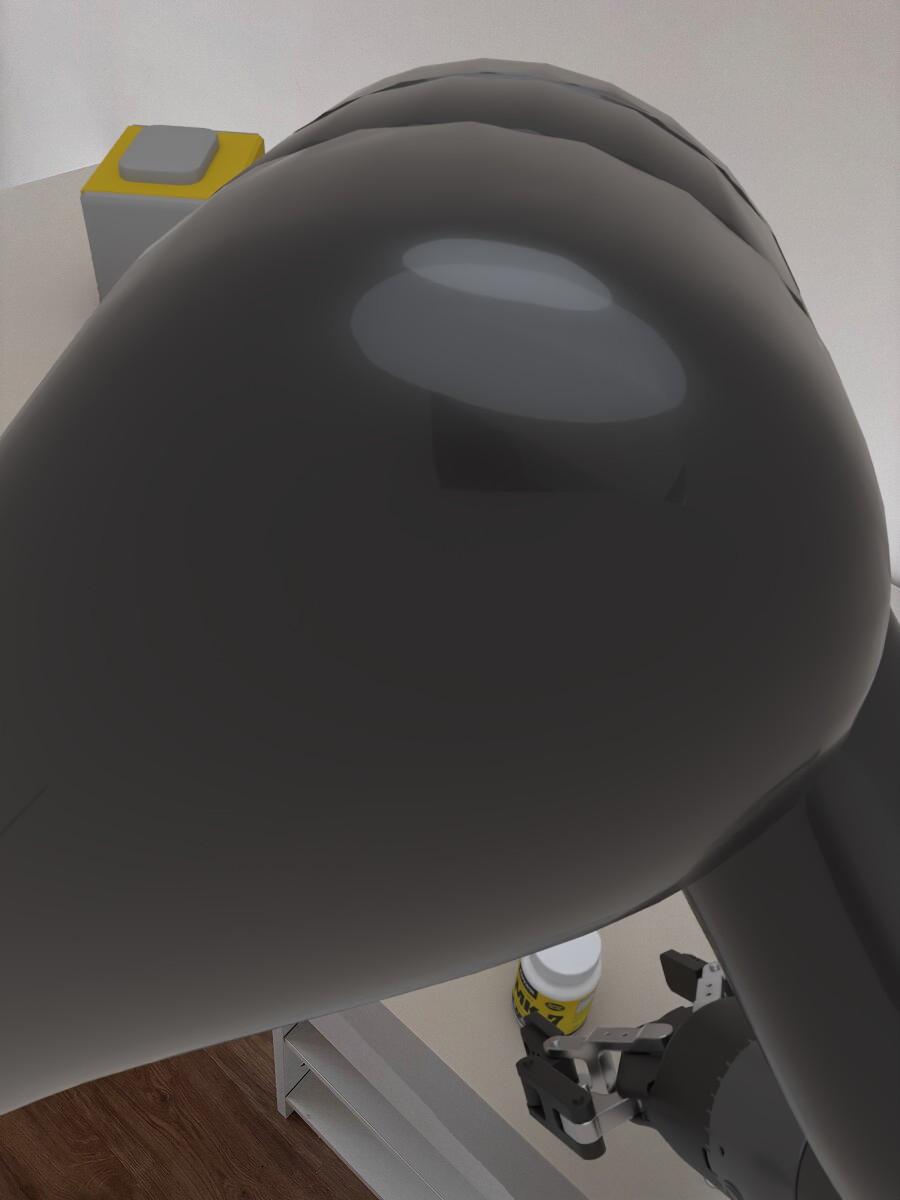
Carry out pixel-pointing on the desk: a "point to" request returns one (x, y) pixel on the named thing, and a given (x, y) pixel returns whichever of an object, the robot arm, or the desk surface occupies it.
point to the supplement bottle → (559, 983)
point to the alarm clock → (155, 188)
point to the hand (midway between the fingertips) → (601, 998)
